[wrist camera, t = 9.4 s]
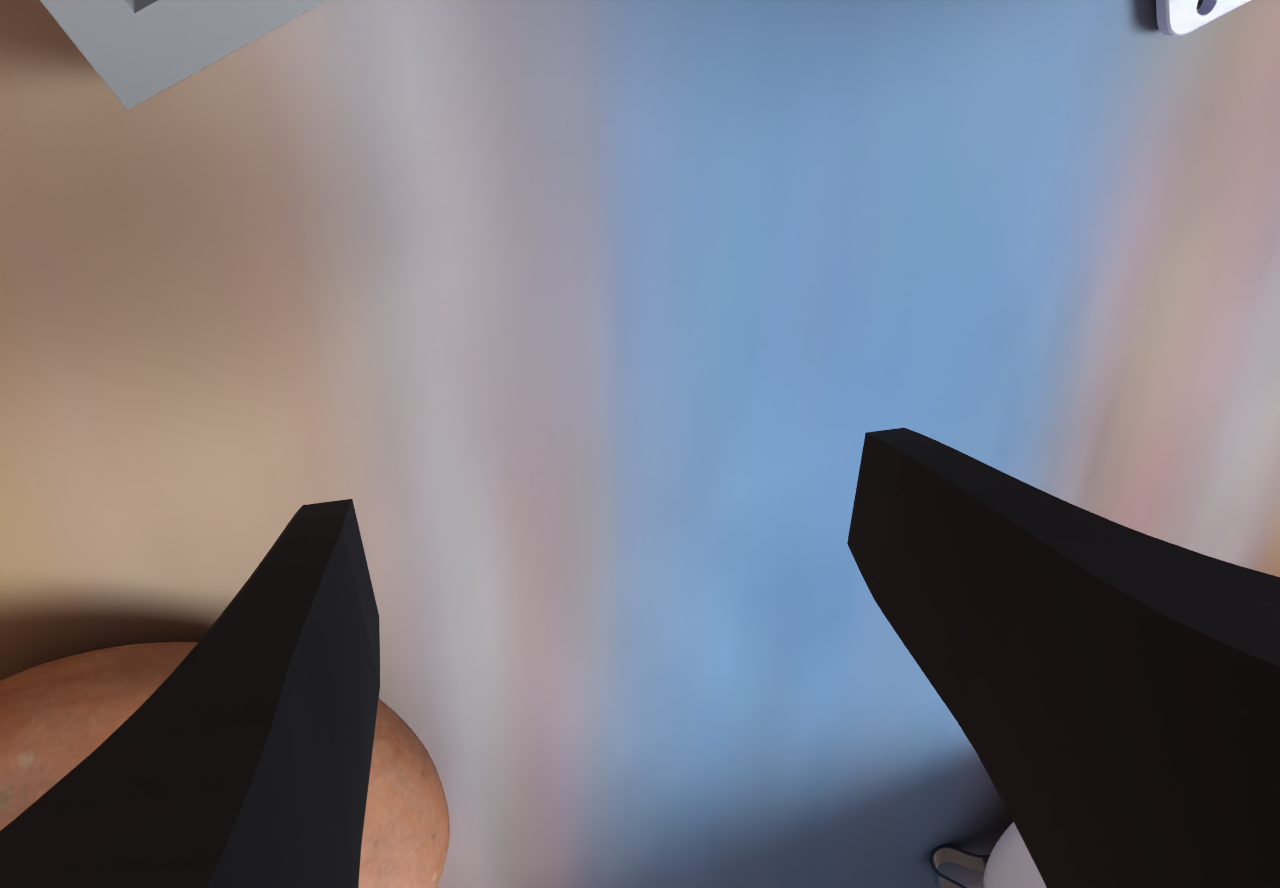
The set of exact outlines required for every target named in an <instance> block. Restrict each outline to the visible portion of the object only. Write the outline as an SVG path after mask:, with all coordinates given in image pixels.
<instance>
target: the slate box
mask: <svg viewBox="0 0 1280 888" xmlns="http://www.w3.org/2000/svg"><path fill="white" fill-rule="evenodd" d="M40 1H41V2H42V3H43V5H44V6H45V7H46V8H47V10H48V11H49V12H50V14H51V15H52V16H53V17H54V19H55V20H56V21H57V22H58V24H59V25H60V26H61V28H62V29H63V30H64V31H65V33H66V34H67V35H68V36H69V38H70V39H71V40H72V41H73V43H74V44H75V45H76V47H77V48H78V49H79V50H80V52H81V53H82V54H83V55H84V57H85V58H86V59H87V60H88V62H89V63H90V64H91V66H92V67H93V68H94V69H95V71H96V72H97V73H98V74H99V76H100V77H101V78H102V79H103V81H104V82H105V83H106V85H107V86H108V87H109V88H110V90H111V91H112V92H113V93H114V95H115V96H116V97H117V98H118V100H119V101H120V102H121V104H122V105H123V106H124V107H125V109H126V110H129V109H131V108H133V107H134V106H136V105H138V104H140V103H142V102H143V101H145V100H147V99H149V98H151V97H152V96H154V95H156V94H158V93H160V92H161V91H163V90H165V89H167V88H169V87H170V86H172V85H174V84H176V83H178V82H179V81H181V80H183V79H185V78H187V77H189V76H190V75H192V74H194V73H196V72H198V71H199V70H201V69H203V68H205V67H207V66H208V65H210V64H212V63H214V62H216V61H217V60H219V59H221V58H223V57H225V56H226V55H228V54H230V53H232V52H234V51H235V50H237V49H239V48H241V47H243V46H244V45H246V44H248V43H250V42H252V41H253V40H255V39H257V38H259V37H261V36H262V35H264V34H266V33H268V32H270V31H271V30H273V29H275V28H277V27H279V26H280V25H282V24H284V23H286V22H288V21H289V20H291V19H293V18H295V17H297V16H298V15H300V14H302V13H304V12H306V11H307V10H309V9H311V8H313V7H315V6H317V5H318V4H320V3H322V2H324V1H326V0H40Z"/></svg>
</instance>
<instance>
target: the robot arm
mask: <svg viewBox="0 0 1280 888" xmlns="http://www.w3.org/2000/svg"><path fill="white" fill-rule="evenodd" d="M1249 1H1251V0H1203V3H1202V5H1201V6H1200V8H1199V9H1198V10H1197V9H1196V8H1197V3H1198V0H1156V12H1157V24H1158V28H1159V30H1160V31H1161V32H1162V33H1163V34H1166V35H1172V36H1182V35H1186V34H1188V33H1190V32H1192V31H1194V30H1195V29H1197V28H1199V27H1201V26H1203V25H1205V24H1207V23H1209V22H1211V21H1213V20H1214V19H1216V18H1218V17H1220V16H1222V15H1224V14H1226V13H1228V12H1230V11H1232V10H1233V9H1235V8H1237V7H1239V6H1241V5H1243V4H1245V3H1247V2H1249ZM847 544H848V546H849V548H850V550H851V553H852V555H853V557H854V559H855V561H856V563H857V565H858V568H859V570H860V572H861V574H862V576H863V578H864V580H865V582H866V584H867V586H868V588H869V590H870V592H871V594H872V596H873V598H874V600H875V601H876V603H877V604H878V606H879V607H880V609H881V610H882V612H883V614H884V615H885V617H886V618H887V620H888V621H889V623H890V624H891V625H892V627H893V628H894V630H895V631H896V633H897V634H898V636H899V637H900V639H901V640H902V642H903V643H904V645H905V646H906V648H907V649H908V651H909V652H910V654H911V655H912V656H913V658H914V659H915V661H916V662H917V664H918V665H919V667H920V668H921V670H922V671H923V672H924V674H925V675H926V677H927V678H928V680H929V681H930V683H931V684H932V686H933V687H934V688H935V690H936V691H937V693H938V694H939V696H940V697H941V699H942V700H943V702H944V703H945V704H946V706H947V707H948V709H949V710H950V712H951V713H952V715H953V716H954V718H955V719H956V721H957V722H958V724H959V725H960V727H961V728H962V730H963V732H964V733H965V735H966V736H967V738H968V740H969V741H970V743H971V744H972V746H973V748H974V749H975V751H976V753H977V754H978V756H979V758H980V760H981V762H982V764H983V765H984V767H985V769H986V771H987V773H988V775H989V777H990V778H991V780H992V782H993V784H994V786H995V788H996V789H997V791H998V793H999V795H1000V797H1001V799H1002V800H1003V802H1004V804H1005V806H1006V808H1007V810H1008V812H1009V813H1010V815H1011V817H1012V819H1013V821H1014V823H1015V825H1016V827H1017V829H1018V831H1019V833H1020V835H1021V837H1022V839H1023V841H1024V843H1025V845H1026V847H1027V849H1028V851H1029V853H1030V855H1031V857H1032V859H1033V861H1034V863H1035V865H1036V867H1037V869H1038V871H1039V873H1040V875H1041V877H1042V879H1043V881H1044V883H1045V885H1046V887H1047V888H1280V577H1276V576H1273V575H1269V574H1266V573H1262V572H1259V571H1255V570H1252V569H1248V568H1244V567H1241V566H1237V565H1234V564H1231V563H1228V562H1225V561H1221V560H1218V559H1215V558H1212V557H1209V556H1206V555H1203V554H1200V553H1197V552H1194V551H1191V550H1188V549H1185V548H1183V547H1180V546H1177V545H1174V544H1171V543H1168V542H1165V541H1163V540H1160V539H1157V538H1154V537H1151V536H1148V535H1146V534H1143V533H1140V532H1138V531H1135V530H1133V529H1130V528H1127V527H1125V526H1122V525H1120V524H1117V523H1115V522H1113V521H1110V520H1108V519H1105V518H1103V517H1101V516H1098V515H1096V514H1094V513H1091V512H1089V511H1086V510H1084V509H1082V508H1079V507H1077V506H1075V505H1072V504H1070V503H1068V502H1066V501H1063V500H1061V499H1059V498H1057V497H1054V496H1052V495H1050V494H1048V493H1046V492H1043V491H1041V490H1039V489H1037V488H1035V487H1033V486H1031V485H1028V484H1026V483H1024V482H1022V481H1020V480H1018V479H1016V478H1014V477H1011V476H1009V475H1007V474H1005V473H1003V472H1001V471H999V470H997V469H995V468H993V467H991V466H989V465H986V464H984V463H982V462H980V461H978V460H976V459H974V458H972V457H970V456H968V455H966V454H964V453H962V452H959V451H957V450H955V449H953V448H951V447H949V446H947V445H944V444H942V443H940V442H938V441H936V440H933V439H931V438H929V437H927V436H924V435H922V434H919V433H917V432H914V431H911V430H909V429H906V428H899V429H891V430H883V431H875V432H868V433H866V434H865V440H864V446H863V452H862V458H861V464H860V470H859V476H858V482H857V488H856V495H855V501H854V507H853V513H852V519H851V525H850V531H849V537H848V543H847ZM379 689H380V641H379V614H378V610H377V606H376V601H375V597H374V592H373V588H372V584H371V579H370V575H369V571H368V566H367V562H366V557H365V553H364V549H363V544H362V540H361V536H360V531H359V527H358V522H357V518H356V514H355V509H354V505H353V501H352V499H348V500H340V501H332V502H325V503H317V504H309V505H303V506H302V507H301V508H300V509H299V510H298V511H297V513H296V514H295V515H294V516H293V518H292V519H291V521H290V522H289V523H288V525H287V526H286V528H285V529H284V531H283V532H282V533H281V535H280V536H279V538H278V539H277V541H276V542H275V543H274V545H273V546H272V548H271V549H270V550H269V552H268V553H267V555H266V556H265V557H264V559H263V560H262V562H261V563H260V564H259V566H258V567H257V568H256V570H255V571H254V573H253V574H252V575H251V577H250V578H249V579H248V581H247V582H246V583H245V584H244V586H243V587H242V588H241V590H240V591H239V592H238V594H237V595H236V596H235V597H234V599H233V600H232V601H231V603H230V604H229V605H228V606H227V608H226V609H225V610H224V612H223V613H222V614H221V616H220V617H219V618H218V619H217V621H216V622H215V623H214V624H213V625H212V627H211V628H210V629H209V630H208V631H207V633H206V634H205V635H204V636H203V637H202V638H201V640H200V641H199V642H198V643H197V644H196V645H195V646H194V648H193V649H192V650H191V651H190V652H189V653H188V655H187V656H186V657H185V658H184V659H183V660H182V662H181V663H180V664H179V665H178V666H177V667H176V669H175V670H174V671H173V672H172V673H171V674H170V675H169V676H168V678H167V679H166V680H165V681H164V682H163V683H162V684H161V685H160V686H159V687H158V688H157V689H156V690H155V692H154V693H153V694H152V695H151V696H150V697H149V698H148V699H147V700H146V701H145V702H144V703H143V704H142V705H141V706H140V707H139V708H138V709H137V710H136V711H135V712H134V713H133V714H132V715H131V716H130V717H129V718H128V719H127V720H126V721H125V722H124V723H123V724H122V725H121V726H120V727H119V728H118V729H117V730H116V731H115V732H113V733H112V734H111V735H110V736H109V737H108V738H107V739H106V740H105V741H104V742H103V743H102V744H101V745H100V746H99V747H98V748H97V749H95V750H94V751H93V752H92V753H91V754H90V755H89V756H88V757H86V758H85V759H84V760H83V761H82V762H81V763H79V764H78V765H77V766H76V767H75V768H74V769H73V770H71V771H70V772H69V773H68V774H67V775H66V776H64V777H63V778H62V779H61V780H60V781H59V782H57V783H56V784H55V785H54V786H53V787H52V788H50V789H49V790H48V791H47V792H46V793H45V794H43V795H42V796H41V797H40V798H39V799H38V800H36V801H35V802H34V803H33V804H32V805H31V806H29V807H28V808H27V809H26V810H25V811H24V812H22V813H21V814H20V815H19V816H18V817H17V818H16V819H14V820H13V821H12V822H11V823H9V824H8V825H7V826H6V827H4V828H3V829H2V830H1V831H0V888H359V871H360V858H361V845H362V836H363V828H364V819H365V811H366V802H367V794H368V785H369V777H370V768H371V760H372V751H373V743H374V734H375V725H376V716H377V707H378V698H379Z"/></svg>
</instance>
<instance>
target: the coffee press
mask: <svg viewBox="0 0 1280 888" xmlns="http://www.w3.org/2000/svg"><path fill="white" fill-rule="evenodd" d="M944 862H952V863H955V864H958V865H960V866H963V867H965V868H968V869H971V870H974V871H978V872H984V879H983V888H1047V887H1046V885H1045V883H1044V881H1043V879H1042V877H1041V875H1040V873H1039V871H1038V869H1037V867H1036V865H1035V863H1034V861H1033V859H1032V857H1031V855H1030V853H1029V851H1028V849H1027V847H1026V845H1025V843H1024V841H1023V839H1022V837H1021V835H1020V833H1019V831H1018V829H1017V827H1016V825H1015V823H1014V822H1013V823H1012V824H1011V825H1010V826H1009V827H1008V828H1007V830H1006V831H1005V832H1004V833H1003V835H1002V836H1001V837H1000V839H999V840H998V842H997V843H996V845H995V847H994V848H993V850H992V852H991V854H990V855H977V854H973V853H969V852H966V851H964V850H961V849H959V848H956V847H953V846H949V845H942V846H939V847H937V848H935V849H934V850H933V852H932V853H931V856H930V863H931V869H932V876H933V880H934V882H935V883H936V885H937V886H938V887H939V888H966V887H965V886H963V885H961V884H960V883H958V882H956V881H954V880H952V879H950V878H948V877H946V876H945V875H943V874H941V873H940V872H939V871H938V870H937V869H936V868H937V867H938V866H939V865H940V864H941V863H944Z"/></svg>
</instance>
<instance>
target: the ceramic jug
mask: <svg viewBox="0 0 1280 888" xmlns="http://www.w3.org/2000/svg"><path fill="white" fill-rule="evenodd" d="M197 643H198V642H159V643H142V644H133V645H125V646H117V647H110V648H105V649H99V650H94V651H89V652H85V653H80V654H76V655H72V656H68V657H64V658H60V659H57V660H54V661H50V662H47V663H44V664H41V665H38V666H35V667H32V668H29V669H27V670H24V671H22V672H19V673H17V674H14V675H12V676H10V677H7V678H5V679H3V680H1V681H0V831H1V830H2V829H3V828H4V827H6V826H7V825H8V824H9V823H11V822H12V821H13V820H14V819H16V818H17V817H18V816H19V815H20V814H21V813H22V812H24V811H25V810H26V809H27V808H28V807H29V806H31V805H32V804H33V803H34V802H35V801H36V800H38V799H39V798H40V797H41V796H42V795H43V794H45V793H46V792H47V791H48V790H49V789H50V788H52V787H53V786H54V785H55V784H56V783H57V782H59V781H60V780H61V779H62V778H63V777H64V776H66V775H67V774H68V773H69V772H70V771H71V770H73V769H74V768H75V767H76V766H77V765H78V764H79V763H81V762H82V761H83V760H84V759H85V758H86V757H88V756H89V755H90V754H91V753H92V752H93V751H94V750H95V749H97V748H98V747H99V746H100V745H101V744H102V743H103V742H104V741H105V740H106V739H107V738H108V737H109V736H110V735H111V734H112V733H113V732H115V731H116V730H117V729H118V728H119V727H120V726H121V725H122V724H123V723H124V722H125V721H126V720H127V719H128V718H129V717H130V716H131V715H132V714H133V713H134V712H135V711H136V710H137V709H138V708H139V707H140V706H141V705H142V704H143V703H144V702H145V701H146V700H147V699H148V698H149V697H150V696H151V695H152V694H153V693H154V692H155V690H156V689H157V688H158V687H159V686H160V685H161V684H162V683H163V682H164V681H165V680H166V679H167V678H168V676H169V675H170V674H171V673H172V672H173V671H174V670H175V669H176V667H177V666H178V665H179V664H180V663H181V662H182V660H183V659H184V658H185V657H186V656H187V655H188V653H189V652H190V651H191V650H192V649H193V648H194V646H195V645H196V644H197ZM448 844H449V813H448V806H447V802H446V798H445V793H444V790H443V787H442V784H441V781H440V778H439V775H438V773H437V770H436V767H435V765H434V763H433V761H432V759H431V757H430V755H429V753H428V751H427V750H426V748H425V747H424V745H423V744H422V742H421V741H420V740H419V738H418V737H417V736H416V734H415V733H414V732H413V731H412V729H411V728H410V727H409V726H408V725H407V724H406V723H405V722H404V721H403V720H402V718H400V717H399V716H398V715H397V714H396V713H395V712H394V711H393V710H392V709H391V708H389V707H388V706H387V705H386V704H385V703H384V702H382V701H381V700H380V699H378V707H377V716H376V725H375V734H374V743H373V751H372V760H371V768H370V777H369V785H368V794H367V802H366V811H365V819H364V828H363V836H362V845H361V858H360V871H359V888H437V885H438V883H439V880H440V877H441V874H442V871H443V867H444V863H445V859H446V855H447V850H448Z"/></svg>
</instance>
